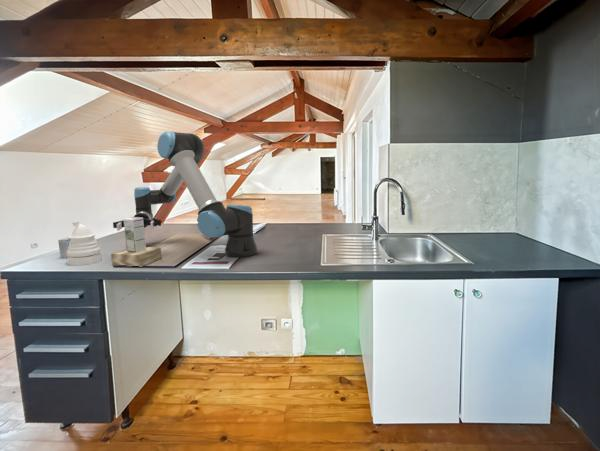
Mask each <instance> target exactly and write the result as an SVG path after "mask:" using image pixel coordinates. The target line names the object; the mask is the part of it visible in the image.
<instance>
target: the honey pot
mask: <svg viewBox="0 0 600 451" xmlns="http://www.w3.org/2000/svg"><path fill="white" fill-rule="evenodd" d="M79 223H80V221H72V222H71V224H72V226H74V227H75V229H74V230H73V232H72V235H69V236H67V238H69V239H70V243H69V247H68V250H67V258H66V259H67V264H68V266H85V265H92V264H96V263H99V262H101V261H102V259H103V258H102V252H101V250H102V249H101V247H100V246H99V243H98V240H96V238H95V236H96V234H94V233H92V231H91V230H90V229H89V228H88V226H87V225H84V224H79Z"/></svg>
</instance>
